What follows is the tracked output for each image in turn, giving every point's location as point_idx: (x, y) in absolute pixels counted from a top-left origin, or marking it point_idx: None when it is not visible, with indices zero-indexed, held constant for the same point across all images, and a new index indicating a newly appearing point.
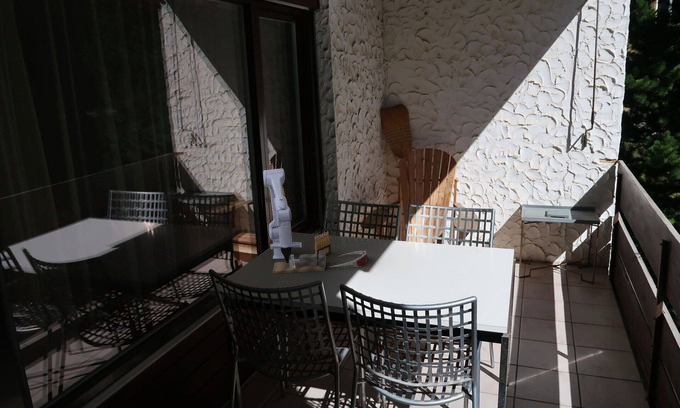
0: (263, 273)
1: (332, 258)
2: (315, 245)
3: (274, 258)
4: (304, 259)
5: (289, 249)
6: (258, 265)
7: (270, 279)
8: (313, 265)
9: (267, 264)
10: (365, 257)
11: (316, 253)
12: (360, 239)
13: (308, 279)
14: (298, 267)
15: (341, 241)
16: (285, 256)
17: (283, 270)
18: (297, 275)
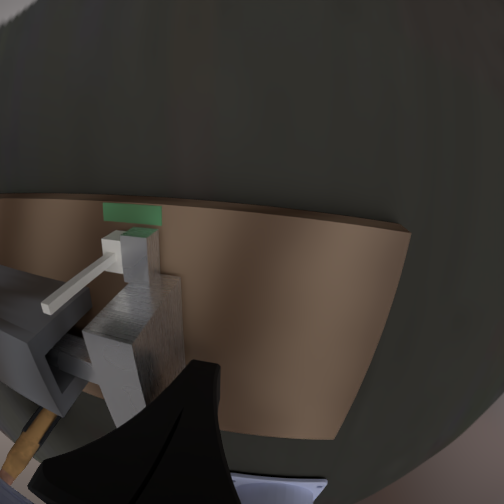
0: (471, 265)
1: None
2: (19, 456)
3: (317, 481)
4: (8, 313)
5: (48, 502)
6: (437, 421)
7: (421, 57)
8: (7, 268)
9: (382, 432)
10: None
11: (40, 418)
12: None
13: (50, 16)
14: None
15: None
16: (194, 434)
17: (267, 222)
18: (114, 101)
